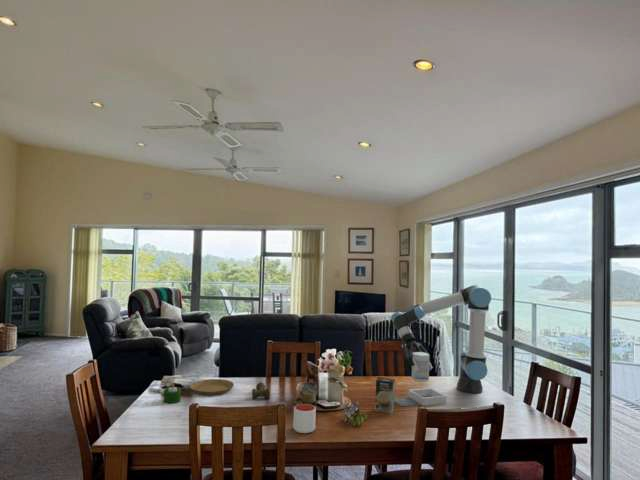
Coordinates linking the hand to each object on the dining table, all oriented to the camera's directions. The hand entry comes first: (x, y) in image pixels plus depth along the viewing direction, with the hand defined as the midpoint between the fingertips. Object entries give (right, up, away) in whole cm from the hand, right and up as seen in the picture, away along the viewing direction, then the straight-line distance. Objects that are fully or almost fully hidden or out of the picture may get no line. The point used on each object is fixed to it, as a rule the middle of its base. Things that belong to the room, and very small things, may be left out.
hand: (424, 369), depth 241 cm
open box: (+2, -18, +3) cm, 18 cm away
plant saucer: (-120, -14, +7) cm, 121 cm away
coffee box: (-25, -16, -16) cm, 34 cm away
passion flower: (-42, -15, -34) cm, 56 cm away
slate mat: (-11, -17, -2) cm, 21 cm away
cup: (-65, -14, -45) cm, 80 cm away
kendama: (-91, -15, -1) cm, 92 cm away
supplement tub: (-2, -7, +3) cm, 7 cm away
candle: (-136, -13, -14) cm, 137 cm away
